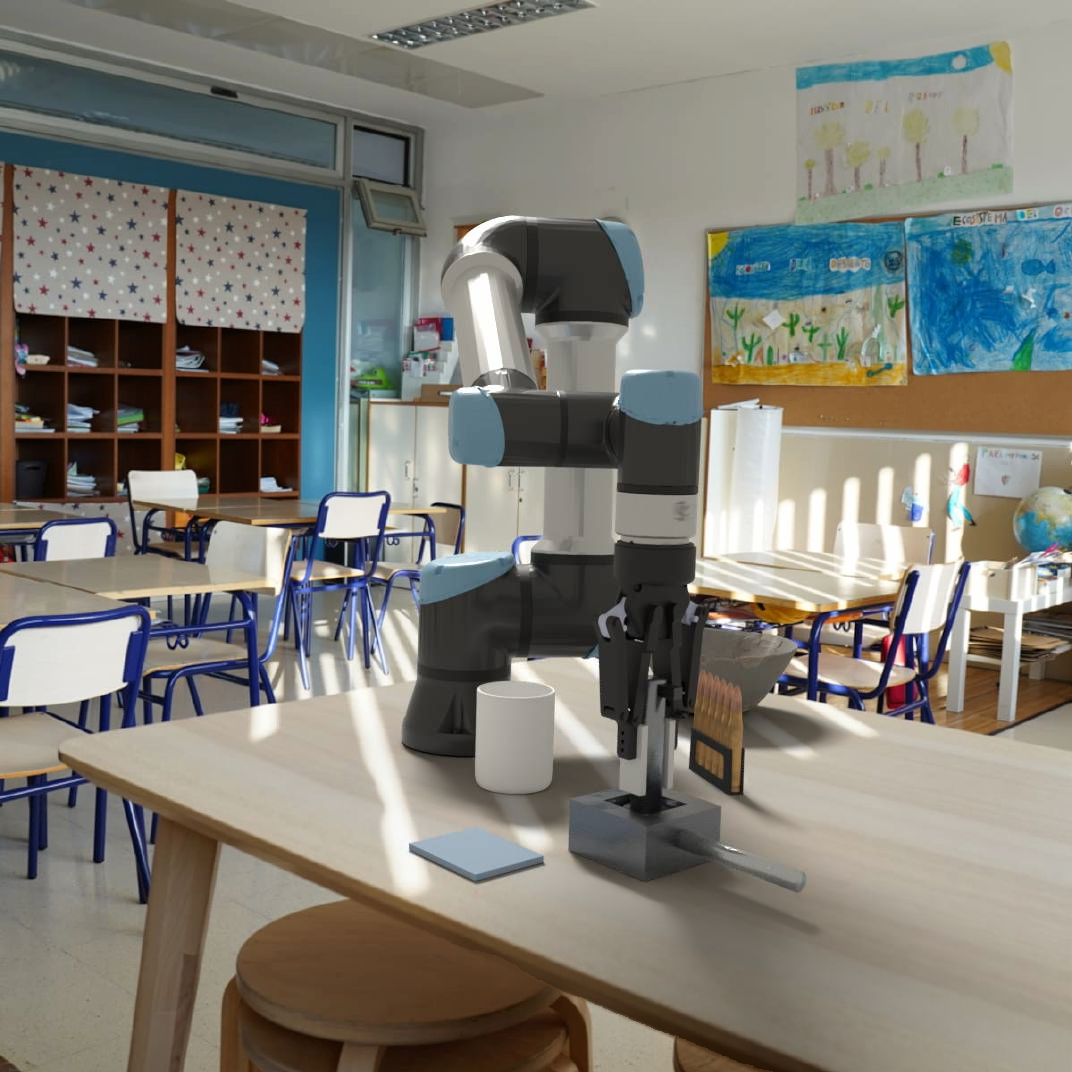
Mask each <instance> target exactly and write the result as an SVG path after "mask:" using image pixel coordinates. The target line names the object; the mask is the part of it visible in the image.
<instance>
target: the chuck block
mask: <svg viewBox="0 0 1072 1072" xmlns="http://www.w3.org/2000/svg"><path fill="white" fill-rule="evenodd" d="M629 803H630V793H629V792H626V791H623V790H620V789H619V786H616V787H613V788H609V789H608V788H607V789H605V790H600V791H597V792H596V791H595V792H591V793H587V794H582V795H579V796H576V797H575V796H574V797H570V798H569V815H568V816H569V819H568V822H569V823H568V846H567V847H568V852H569V851H570V852H573V853H574V854H576V855H580V856H582V857H585V858H586V859H589V860H591V861H594V862H596V863H599V864H601V865H603V866H606V867H609V868H611V869H613V870H615V871H618V872H620V873H623V874H625V875H628V876H629V877H633V878H635V879H637V880H640V881H642V882H647V881H650V880H653V879H656V878H660V877H664V876H666V875H670V874H672V873H677V872H679V871H682V870H685V869H689V868H691V867H695V866H699V865H701V864H704V863H707V862H711V861H712V862H714V863H717V864H720V865H722V866H725V867H727V868H730V869H732V870H735V871H737V872H741V873H743V874H745V875H749V876H751V877H754V878H757V879H759V880H762V881H765V882H767V883H769V884H772V885H775V886H778V887H781V888H784V889H786V890H788V891H790V892H791V891H792V892H794V893H797V894H799V893H801V892H802V891H803V890H804V889H805V887H806V884H807V874H806V873H805V872H804V871H802V870H799V869H796V868H794V867H791V866H788V865H787V864H786V865H785V864H783V863H780V862H777V861H775V860H772V859H769V858H766V857H763V856H760V855H758V854H755V853H752V852H750V851H748V850H747V851H746V850H744V849H741V848H738V847H735V846H734V845H733V846H732V845H729V844H727V843H724V842H721V819H722V805H719V804H716V803H713V802H709V801H708V800H704V799H701V798H698V797H695V796H693V795H689V794H685V793H684V792H679V791H678V790H674V789H672V788H671V789H664V788H662V805H663V806H665V807H667V808H668V809H669V810H665V811H661V812H658V813H654V814H650V815H643V814H640V813H637V812H635V811H632V810H629V809H626V808H623V806H624V805H626V804H629Z"/></svg>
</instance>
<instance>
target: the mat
mask: <svg viewBox="0 0 1072 1072" xmlns="http://www.w3.org/2000/svg"><path fill="white" fill-rule="evenodd" d="M408 850H410V851H411V852H413V853H415V854H418V855H419V856H422V857H424V858H426V859H428V860H430V861H432V862H434V863H437V864H439V865H440V866H442V867H445V868H447V869H449V870H451V871H453V872H455V873H457V874H459V875H461V876H464V877H466V878H467V879H470V880H472V881H474V882H478V881H480V880H481V881H482V880H484V879H485V880H486V879H487V878H491V877H492V878H493V877H495V876H499V875H502V874H503V875H504V874H506V873H509V872H513V871H516V870H520V869H523V868H527V867H530V866H535V865H538V864H541V863H544V861H545V860H544V859H545V857H544V855H543V854H541V853H540V852H539V853H538V852H536V851H534V850H532V849H529V848H527V847H524V846H522V845H519V844H517V843H515V842H512V841H511V840H509V839H506V838H504V837H501V836H498V835H496V834H494V833H492V832H490V831H487V830H485V829H482V828H480V827H478V826H474V827H470V828H467V829H466V828H465V829H462V830H458V831H457V830H456V831H454V832H450V833H445V834H442V835H437V836H434V837H429V838H426V839H420V840H416V841H413V842H408Z"/></svg>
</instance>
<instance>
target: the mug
mask: <svg viewBox="0 0 1072 1072" xmlns="http://www.w3.org/2000/svg"><path fill="white" fill-rule="evenodd" d="M555 705H556V690H555V688H554V687H553V686H550V685H548V684H544V683H540V682H534V681H523V680H511V681H498V682H491V683H486V684H482V685H480V686H479V687H478V688H477V710H476V750H475V757H474V759H475V760H474V776H475V781H476V784H478V786H479V787H480V788H482V789H484V790H486V791H488V792H493V793H499V794H505V795H527V794H533V793H535V794H536V793H539V792H541V791H544V790H545V789H547V788H548V787H550V785H551V783H552V779H553V774H554V773H553V769H554V745H555V744H554V741H555V739H554V737H555V715H556V714H555V709H556V706H555Z"/></svg>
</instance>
